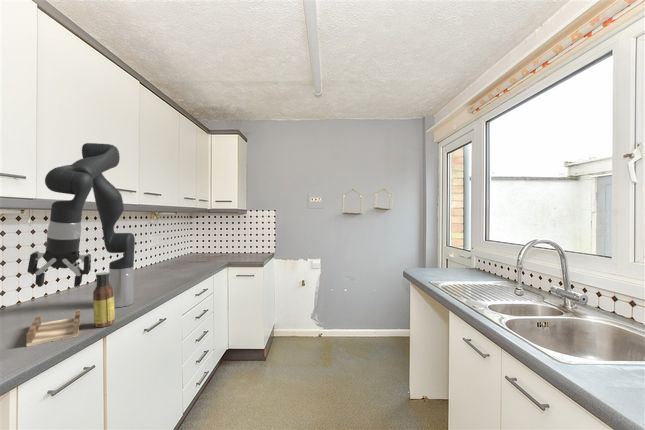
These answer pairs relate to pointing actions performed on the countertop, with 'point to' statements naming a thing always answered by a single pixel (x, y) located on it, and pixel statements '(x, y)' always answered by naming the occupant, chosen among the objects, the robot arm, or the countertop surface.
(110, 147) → the robot arm
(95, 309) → the sauce bottle
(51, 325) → the track
